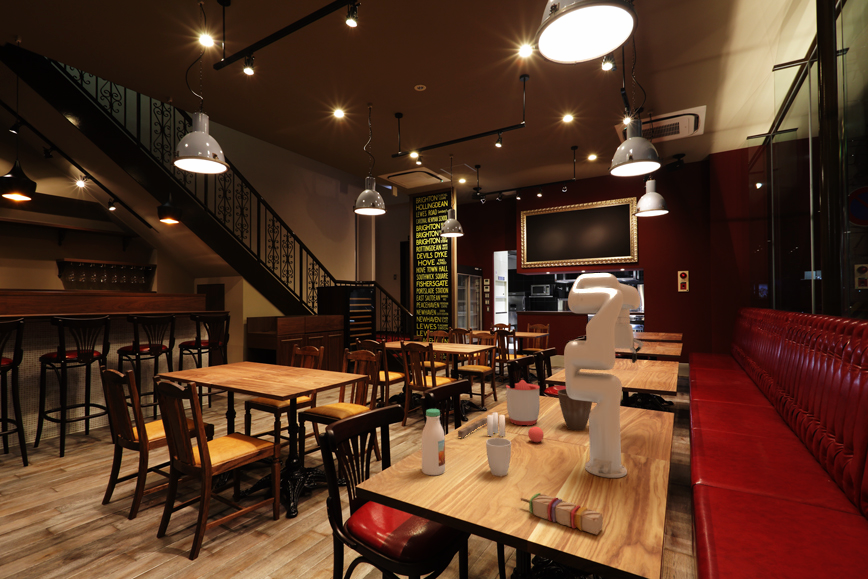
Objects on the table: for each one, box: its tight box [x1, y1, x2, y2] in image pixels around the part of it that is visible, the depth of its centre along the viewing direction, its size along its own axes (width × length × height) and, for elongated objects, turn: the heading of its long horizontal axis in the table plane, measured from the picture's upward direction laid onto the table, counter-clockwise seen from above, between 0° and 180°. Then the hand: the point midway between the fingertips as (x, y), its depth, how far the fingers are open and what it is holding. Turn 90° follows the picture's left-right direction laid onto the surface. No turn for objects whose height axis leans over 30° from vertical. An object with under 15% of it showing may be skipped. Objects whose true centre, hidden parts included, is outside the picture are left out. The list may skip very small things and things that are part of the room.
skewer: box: [520, 492, 604, 535], centre depth 103 cm, size 21×6×5 cm, turn 50°
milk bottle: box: [421, 408, 446, 476], centre depth 135 cm, size 8×8×20 cm
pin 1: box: [486, 414, 494, 437], centre depth 171 cm, size 2×2×8 cm
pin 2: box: [491, 411, 499, 434], centre depth 176 cm, size 2×2×8 cm
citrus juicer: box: [505, 379, 541, 426], centre depth 192 cm, size 16×17×20 cm
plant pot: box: [557, 388, 593, 432], centre depth 181 cm, size 15×15×16 cm
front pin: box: [498, 414, 506, 437], centre depth 171 cm, size 2×2×8 cm
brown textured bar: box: [457, 417, 487, 439], centre depth 178 cm, size 24×2×3 cm, turn 147°
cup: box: [485, 437, 512, 477], centre depth 133 cm, size 8×8×10 cm
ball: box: [527, 426, 545, 443], centre depth 163 cm, size 6×6×6 cm
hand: (621, 361), depth 172 cm, fingers open, 9 cm apart
